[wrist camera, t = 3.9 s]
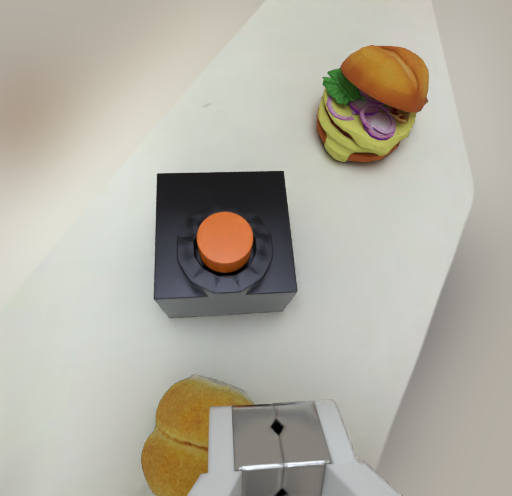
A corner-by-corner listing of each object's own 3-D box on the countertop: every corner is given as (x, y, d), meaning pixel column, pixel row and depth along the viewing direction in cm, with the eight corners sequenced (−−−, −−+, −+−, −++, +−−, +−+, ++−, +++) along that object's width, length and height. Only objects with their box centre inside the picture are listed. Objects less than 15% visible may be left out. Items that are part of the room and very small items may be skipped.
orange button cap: (253, 272, 25) (255, 262, 23) (199, 274, 25) (197, 264, 23) (249, 223, 26) (251, 210, 24) (198, 225, 26) (196, 212, 24)
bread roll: (131, 489, 27) (116, 504, 24) (174, 367, 31) (167, 363, 27) (238, 524, 27) (239, 545, 23) (270, 397, 30) (276, 398, 27)
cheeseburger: (288, 135, 40) (322, 43, 31) (335, 96, 45) (373, 11, 37) (368, 188, 38) (425, 106, 30) (405, 141, 44) (463, 61, 35)
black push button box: (283, 314, 33) (303, 288, 24) (168, 321, 32) (148, 296, 24) (273, 210, 36) (287, 157, 28) (169, 214, 35) (152, 159, 27)
